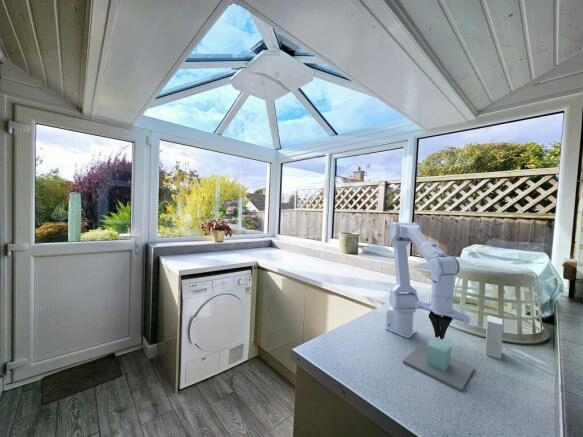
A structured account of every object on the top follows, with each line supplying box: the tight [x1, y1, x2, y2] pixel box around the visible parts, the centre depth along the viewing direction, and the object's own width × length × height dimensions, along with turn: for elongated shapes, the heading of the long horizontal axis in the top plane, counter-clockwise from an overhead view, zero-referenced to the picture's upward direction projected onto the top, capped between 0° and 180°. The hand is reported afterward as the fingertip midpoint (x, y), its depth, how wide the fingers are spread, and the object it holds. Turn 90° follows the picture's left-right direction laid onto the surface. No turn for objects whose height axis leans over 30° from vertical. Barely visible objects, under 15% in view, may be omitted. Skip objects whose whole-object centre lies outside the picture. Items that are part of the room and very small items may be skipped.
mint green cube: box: [426, 338, 452, 371], centre depth 77 cm, size 5×5×6 cm
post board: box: [402, 344, 476, 393], centre depth 77 cm, size 16×14×6 cm
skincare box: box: [484, 315, 504, 360], centre depth 85 cm, size 6×4×12 cm
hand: (439, 337), depth 77 cm, fingers closed
